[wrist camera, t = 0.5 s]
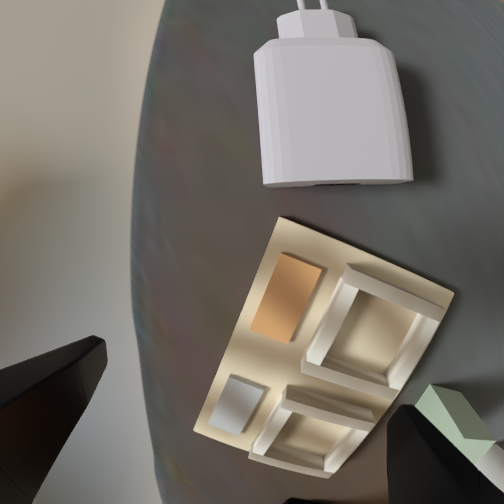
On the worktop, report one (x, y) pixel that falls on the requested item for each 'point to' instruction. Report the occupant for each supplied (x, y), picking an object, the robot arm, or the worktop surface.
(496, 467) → the foam cup
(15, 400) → the robot arm
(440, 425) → the plug
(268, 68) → the charger
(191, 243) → the worktop surface
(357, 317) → the socket board
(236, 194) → the worktop surface
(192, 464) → the worktop surface
